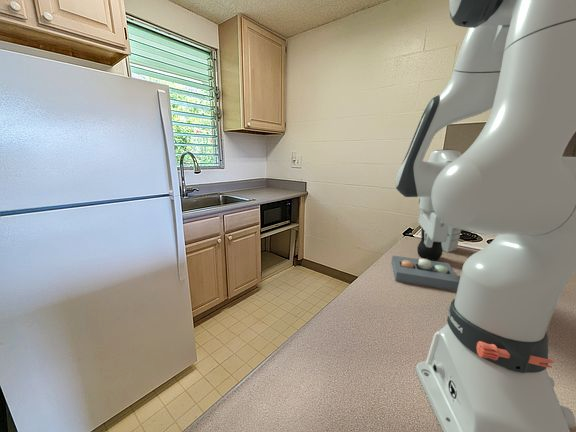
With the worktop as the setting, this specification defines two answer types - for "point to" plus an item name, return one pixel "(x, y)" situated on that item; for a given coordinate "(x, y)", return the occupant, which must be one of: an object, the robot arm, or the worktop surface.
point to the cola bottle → (429, 249)
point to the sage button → (440, 269)
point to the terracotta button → (407, 264)
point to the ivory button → (424, 263)
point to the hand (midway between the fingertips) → (427, 245)
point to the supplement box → (451, 239)
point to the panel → (425, 274)
